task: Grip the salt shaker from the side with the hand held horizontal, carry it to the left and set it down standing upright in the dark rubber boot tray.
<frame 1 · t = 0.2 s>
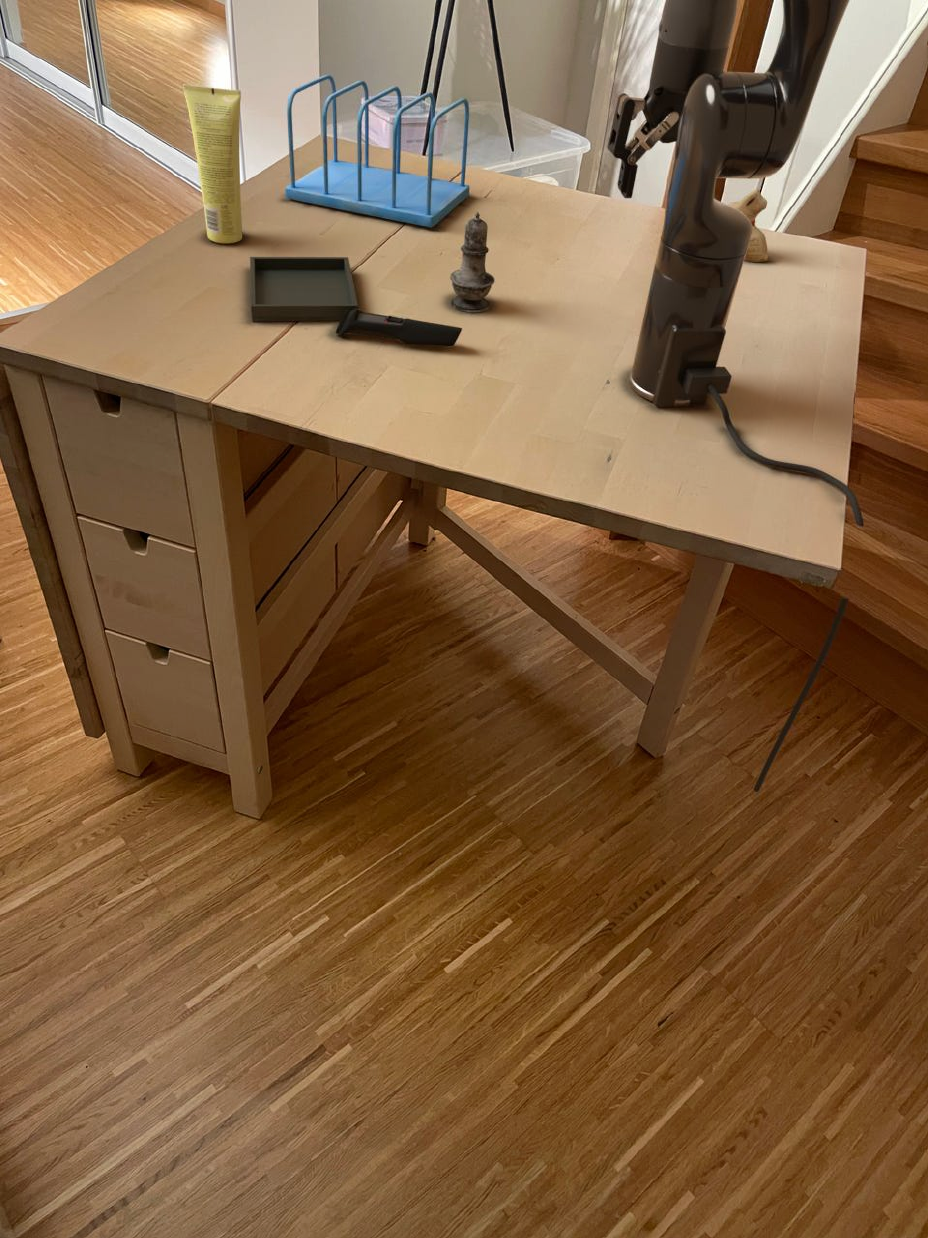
hand: (660, 196, 108), 17 cm above the table, tool pointing down, fingers open, 8 cm apart
tube: (226, 239, 133), on the table
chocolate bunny: (740, 255, 143), on the table
tray: (302, 294, 121), on the table
file sorter: (379, 199, 149), on the table
salt shaker: (470, 305, 123), on the table
electric trimmer: (396, 340, 114), on the table
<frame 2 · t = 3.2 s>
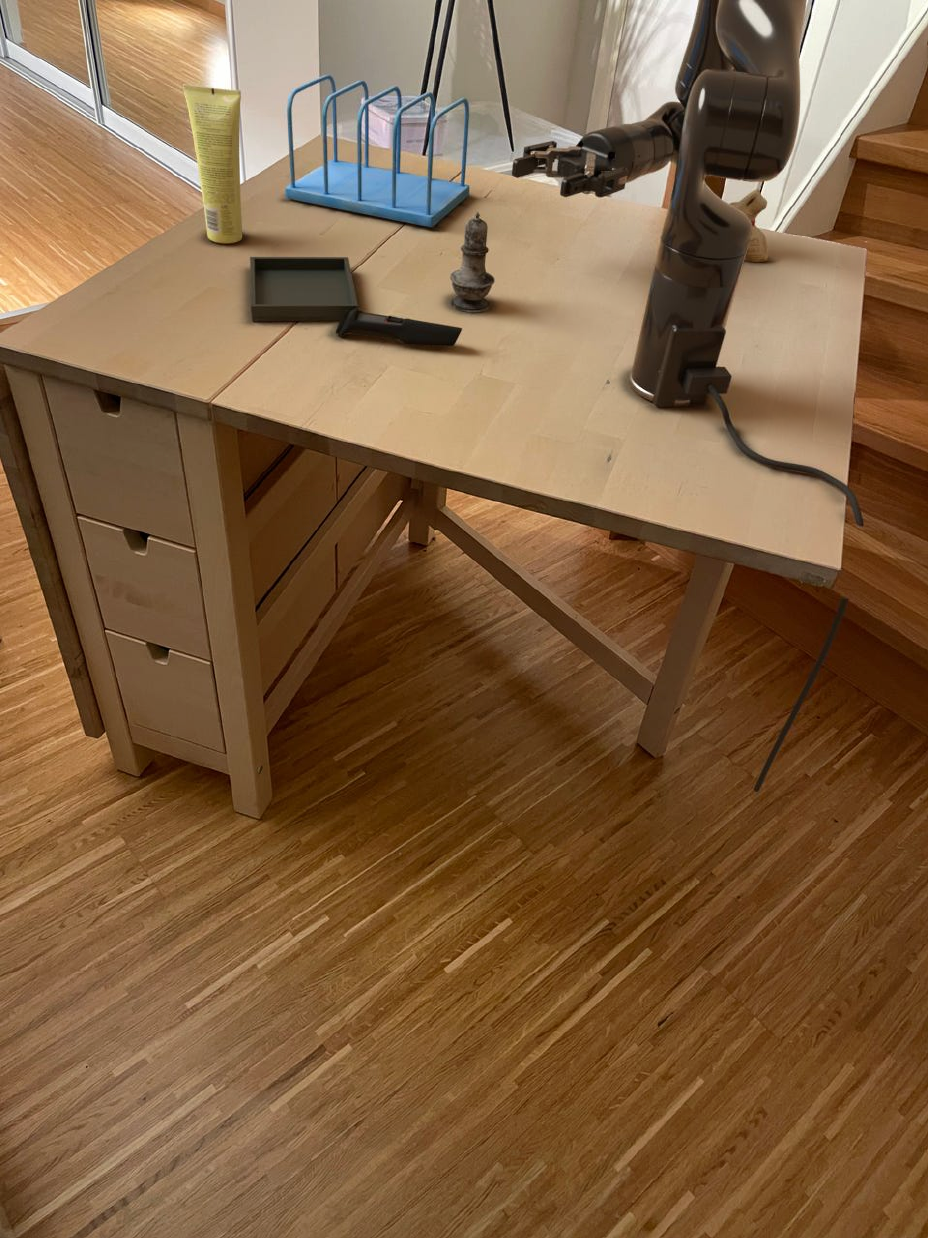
hand: (538, 178, 119), 14 cm above the table, tool horizontal, fingers open, 8 cm apart
nothing on the table moved.
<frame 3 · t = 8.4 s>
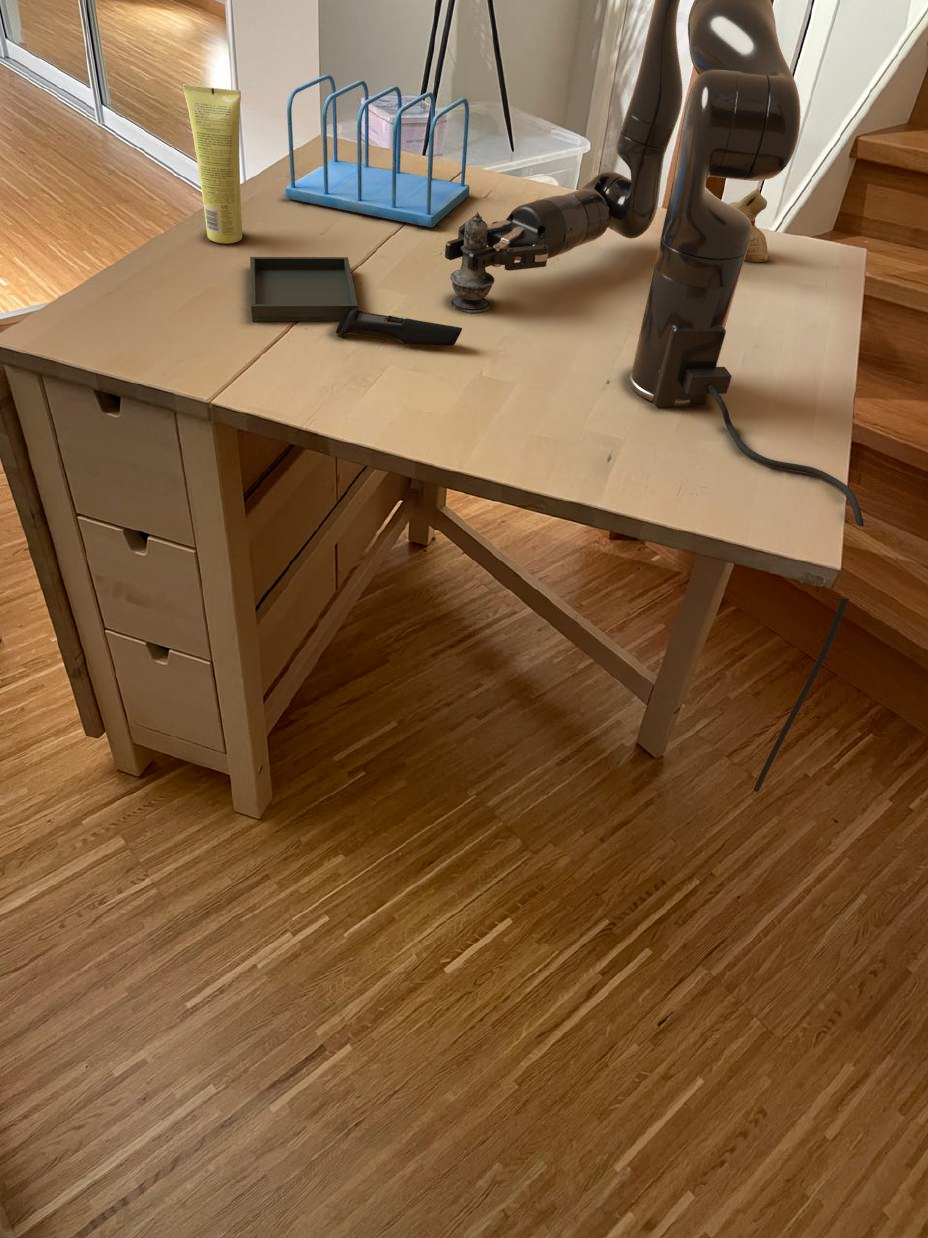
hand: (459, 256, 117), 7 cm above the table, tool horizontal, fingers closed on salt shaker, 3 cm apart
salt shaker: (470, 305, 123), on the table, touching gripper
everything else where it was.
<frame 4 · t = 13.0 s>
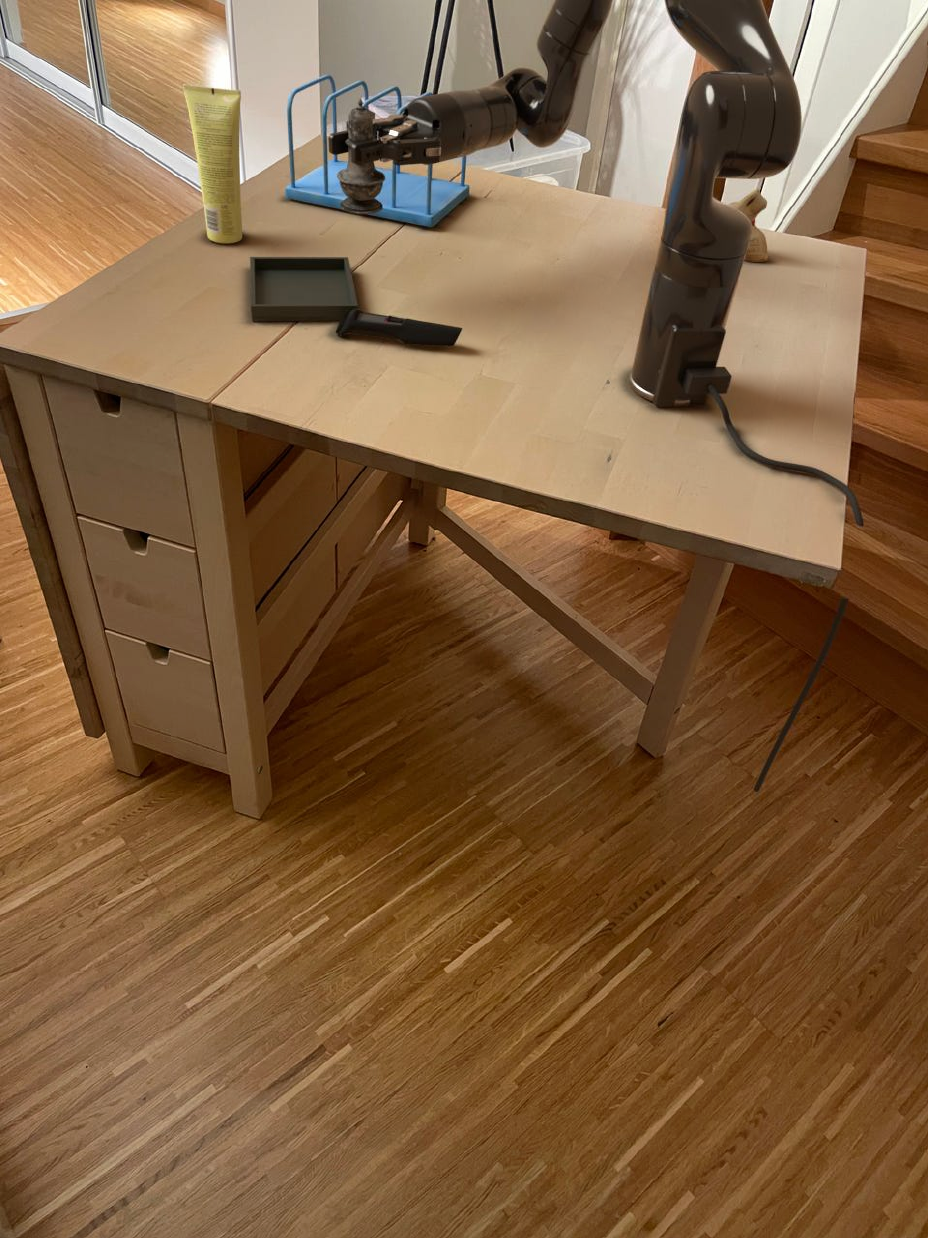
hand: (342, 149, 108), 19 cm above the table, tool horizontal, fingers closed on salt shaker, 3 cm apart
salt shaker: (361, 207, 114), point 11 cm above the table, touching gripper
everything else where it was.
when the fingers open (8 cm above the table, at t = 17.5 s): salt shaker stays where it is, resting on tray.
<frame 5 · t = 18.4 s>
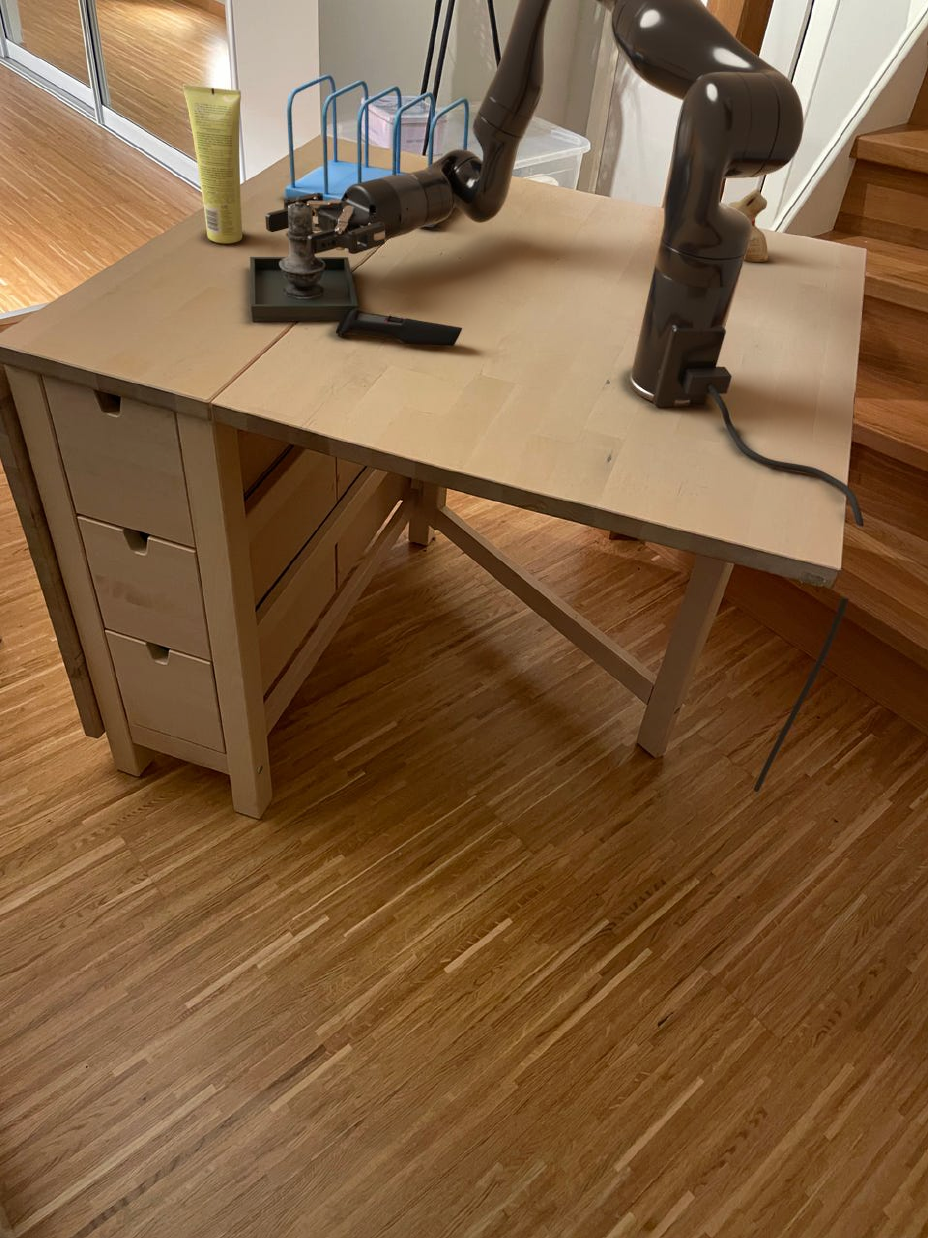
hand: (287, 234, 114), 8 cm above the table, tool horizontal, fingers open, 8 cm apart
salt shaker: (303, 292, 121), resting on tray
everything else where it was.
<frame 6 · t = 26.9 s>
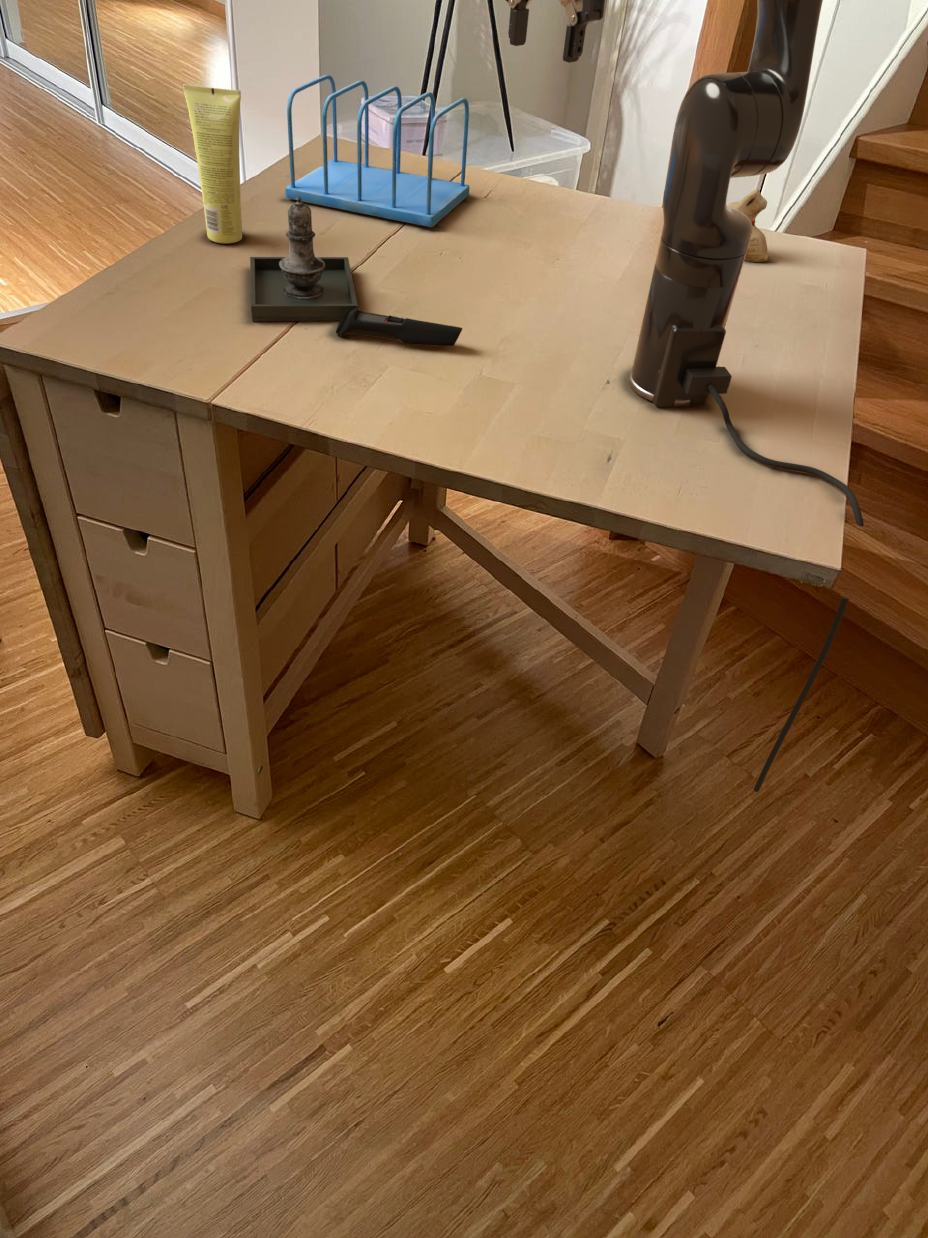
hand: (543, 52, 110), 28 cm above the table, tool pointing down, fingers open, 8 cm apart
nothing on the table moved.
at the end: salt shaker inside the target area in the tray (0.2 cm from its centre), point 0.3 cm above the tray's base; salt shaker tilted 0°; the gripper is holding nothing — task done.
